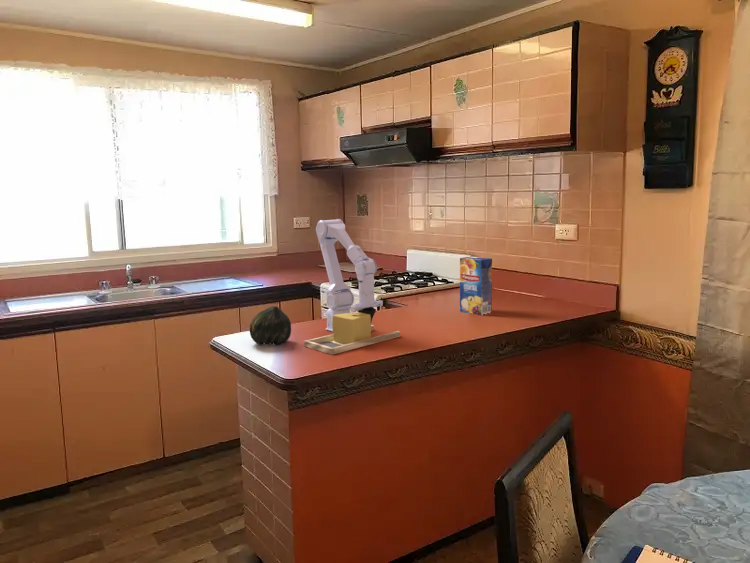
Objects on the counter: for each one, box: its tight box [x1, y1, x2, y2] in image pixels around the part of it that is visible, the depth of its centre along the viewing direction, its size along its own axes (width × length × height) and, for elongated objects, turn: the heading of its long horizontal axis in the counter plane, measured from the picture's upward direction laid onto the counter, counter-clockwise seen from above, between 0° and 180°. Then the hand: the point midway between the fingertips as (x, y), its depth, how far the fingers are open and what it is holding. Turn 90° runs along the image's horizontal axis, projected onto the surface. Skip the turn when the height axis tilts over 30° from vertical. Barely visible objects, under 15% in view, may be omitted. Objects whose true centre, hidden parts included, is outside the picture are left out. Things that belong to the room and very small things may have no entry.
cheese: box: [332, 312, 372, 344], centre depth 223 cm, size 10×11×10 cm
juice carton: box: [459, 256, 493, 316], centre depth 267 cm, size 12×8×24 cm, turn 42°
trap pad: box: [319, 341, 340, 348], centre depth 217 cm, size 13×8×1 cm, turn 43°
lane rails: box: [303, 324, 401, 355], centre depth 224 cm, size 16×33×2 cm, turn 133°
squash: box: [249, 305, 292, 346], centre depth 222 cm, size 14×15×15 cm
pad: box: [328, 340, 345, 346], centre depth 224 cm, size 13×12×1 cm
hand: (367, 327), depth 228 cm, fingers closed
